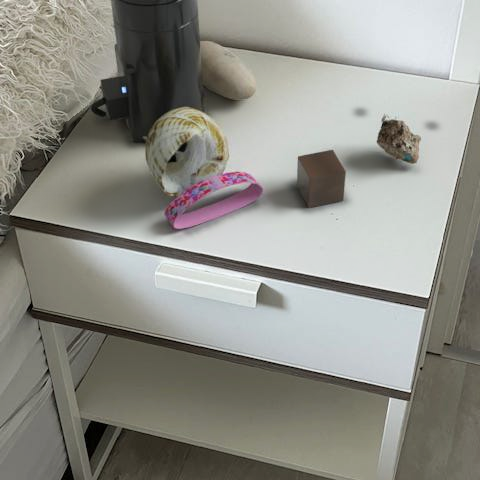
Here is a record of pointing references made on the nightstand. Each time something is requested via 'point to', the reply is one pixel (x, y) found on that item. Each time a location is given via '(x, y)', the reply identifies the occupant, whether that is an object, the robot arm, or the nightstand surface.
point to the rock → (398, 140)
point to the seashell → (185, 150)
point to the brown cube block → (320, 178)
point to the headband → (213, 210)
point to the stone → (225, 72)
